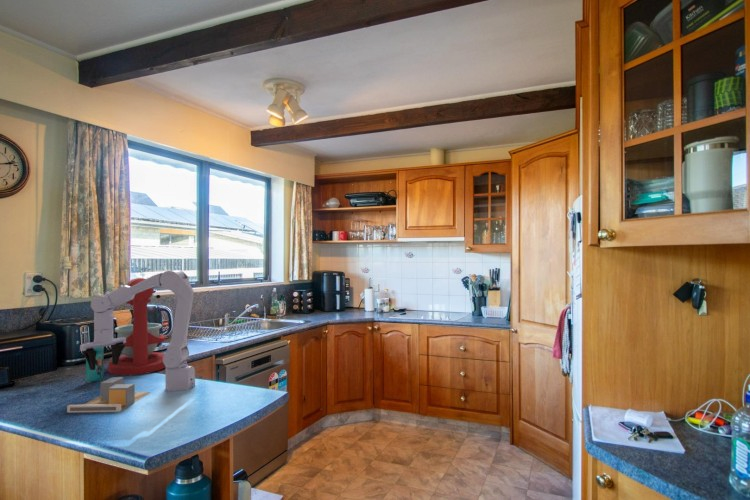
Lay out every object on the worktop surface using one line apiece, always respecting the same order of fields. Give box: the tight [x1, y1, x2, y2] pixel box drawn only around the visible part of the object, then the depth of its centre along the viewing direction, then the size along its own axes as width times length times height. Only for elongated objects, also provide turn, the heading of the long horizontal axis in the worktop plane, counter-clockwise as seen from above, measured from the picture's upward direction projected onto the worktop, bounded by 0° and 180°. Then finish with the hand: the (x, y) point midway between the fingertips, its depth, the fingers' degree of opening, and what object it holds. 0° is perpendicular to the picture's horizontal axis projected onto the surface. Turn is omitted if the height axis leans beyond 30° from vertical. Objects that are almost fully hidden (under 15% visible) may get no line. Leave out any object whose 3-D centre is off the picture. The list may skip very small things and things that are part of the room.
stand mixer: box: [107, 277, 167, 376], centre depth 181 cm, size 24×32×40 cm
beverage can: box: [85, 345, 105, 384], centre depth 159 cm, size 6×6×15 cm
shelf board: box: [66, 391, 152, 414], centre depth 133 cm, size 16×18×1 cm
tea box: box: [99, 376, 125, 401], centre depth 137 cm, size 6×4×6 cm
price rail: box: [66, 404, 122, 413], centre depth 124 cm, size 16×1×2 cm, turn 91°
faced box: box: [108, 383, 136, 408], centre depth 130 cm, size 6×4×6 cm
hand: (104, 366), depth 144 cm, fingers open, 7 cm apart
